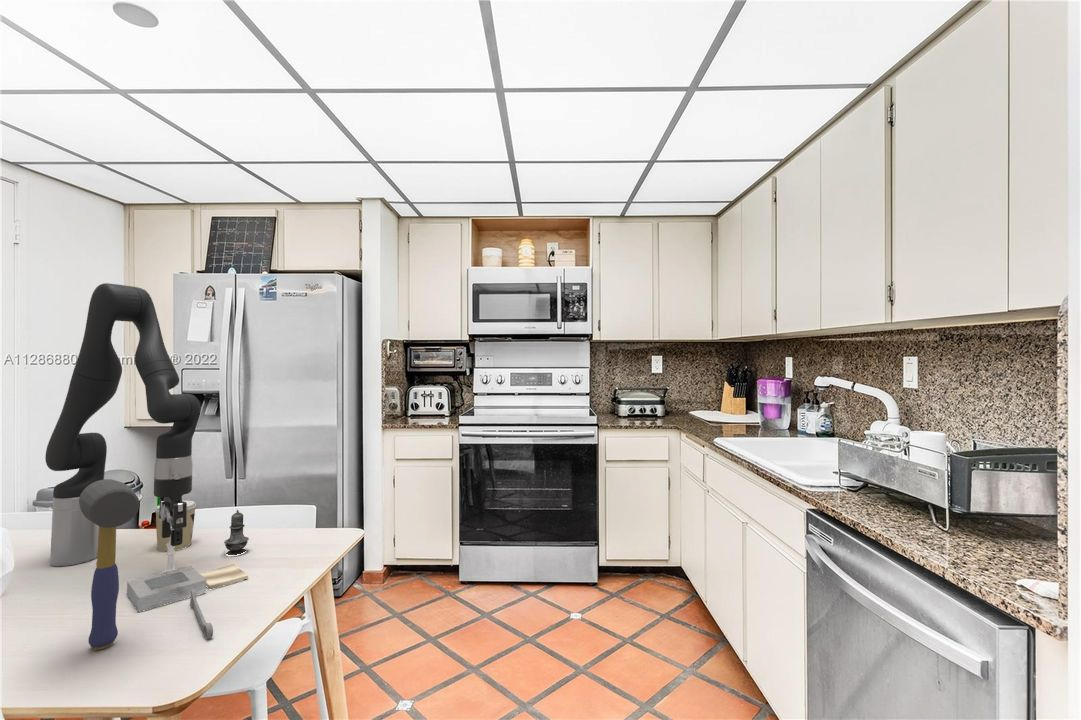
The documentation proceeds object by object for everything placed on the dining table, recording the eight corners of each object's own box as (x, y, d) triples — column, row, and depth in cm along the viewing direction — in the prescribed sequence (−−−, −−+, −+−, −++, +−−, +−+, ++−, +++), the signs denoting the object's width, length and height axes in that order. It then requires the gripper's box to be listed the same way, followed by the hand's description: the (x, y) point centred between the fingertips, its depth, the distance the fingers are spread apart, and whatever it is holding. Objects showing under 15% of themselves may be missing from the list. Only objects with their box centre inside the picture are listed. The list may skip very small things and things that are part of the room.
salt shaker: (236, 558, 131) (238, 513, 131) (218, 556, 132) (219, 511, 132) (253, 550, 136) (254, 507, 137) (235, 548, 137) (237, 506, 138)
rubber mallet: (69, 642, 89) (76, 480, 90) (122, 626, 95) (128, 474, 96) (80, 669, 81) (88, 491, 82) (137, 650, 87) (143, 483, 88)
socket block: (126, 594, 108) (127, 581, 109) (190, 577, 118) (191, 565, 118) (138, 612, 101) (139, 597, 101) (205, 593, 110) (206, 579, 110)
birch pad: (196, 577, 118) (196, 573, 118) (233, 568, 124) (233, 564, 124) (209, 590, 111) (209, 585, 111) (248, 579, 117) (248, 575, 117)
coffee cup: (200, 545, 139) (202, 503, 140) (161, 555, 132) (163, 511, 132) (186, 538, 144) (187, 498, 145) (148, 548, 137) (149, 505, 137)
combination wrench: (213, 623, 91) (196, 585, 106) (205, 625, 90) (189, 587, 105) (212, 643, 91) (196, 602, 106) (204, 645, 90) (188, 604, 105)
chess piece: (154, 581, 115) (156, 539, 116) (159, 574, 120) (161, 533, 120) (180, 578, 118) (181, 536, 118) (184, 570, 122) (185, 530, 122)
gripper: (147, 473, 121) (145, 538, 120) (161, 481, 112) (159, 552, 111) (183, 469, 127) (182, 531, 126) (200, 476, 117) (198, 543, 117)
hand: (171, 541), depth 119 cm, fingers open, 8 cm apart
